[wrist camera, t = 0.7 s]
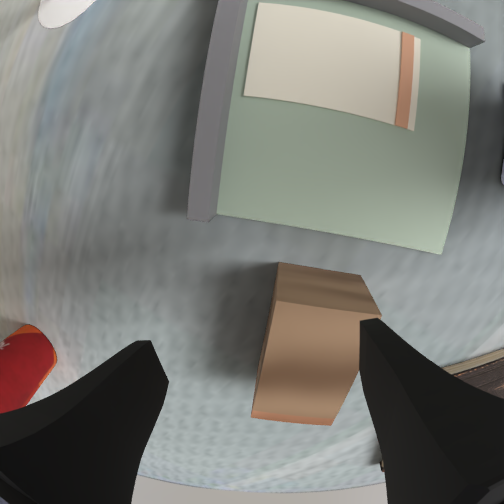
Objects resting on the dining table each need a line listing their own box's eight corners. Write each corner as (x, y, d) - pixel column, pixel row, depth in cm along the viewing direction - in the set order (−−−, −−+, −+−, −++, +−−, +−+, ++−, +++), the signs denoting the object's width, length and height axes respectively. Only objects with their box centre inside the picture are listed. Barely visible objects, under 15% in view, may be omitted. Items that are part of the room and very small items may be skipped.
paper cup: (13, 303, 23) (-72, 374, 10) (64, 340, 23) (-20, 434, 10) (19, 350, 26) (-46, 418, 13) (65, 384, 26) (4, 467, 13)
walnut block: (278, 261, 18) (276, 300, 14) (360, 274, 18) (381, 315, 14) (257, 368, 22) (250, 417, 17) (325, 377, 21) (331, 425, 17)
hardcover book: (404, 369, 21) (412, 387, 19) (561, 317, 18) (571, 327, 16) (378, 459, 26) (381, 474, 24) (518, 410, 23) (524, 420, 21)
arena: (466, 36, 11) (483, 27, 9) (438, 252, 17) (455, 266, 15) (235, -23, 12) (228, -41, 10) (198, 210, 18) (186, 219, 16)
